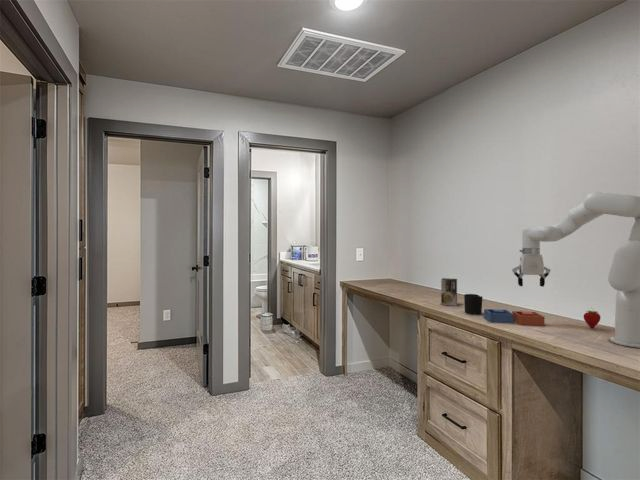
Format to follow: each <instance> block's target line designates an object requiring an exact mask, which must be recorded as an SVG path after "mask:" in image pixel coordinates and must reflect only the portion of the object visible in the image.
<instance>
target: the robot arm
mask: <svg viewBox="0 0 640 480" xmlns="http://www.w3.org/2000/svg"><path fill="white" fill-rule="evenodd" d="M603 215H610V216H617V217H624V218H634V223H633V225H632V227H631V230H630V234H629V237H628V240H627V241H624V242H622V243H621V244H619V245H618V246H617V248H616V249H615V251H614V254H613V257H612V260H611V264H610V268H609V271H608V275H607V277H608V278H607V279H608V280H607V281H608V283H609V285H610V287H611V288H613V290H616V292H615V293H616V294H615V308H614V309H615V312H614V314H615V315H614V316H615V317H614V336H611V337H609V341H610V342H611V343H613V344H616V345H620V346H624V347H630V348H638V349H640V196H638V195H631V194H621V193H620V194H619V193H610V192H602V191H593V192H590V193H588V194H587V195H586V196H585V197H584V198H583V201H582V202H581V203H580V204H578V205H576V206H574V207H573V208H571V209H569V210H568V214H567V216H566V217H565V218H564V219H562V220H561V221H558V222H557V223H556V224H554V225H542V226H525V227H523V228H522V231H521V234H522V239H521V240H522V248H521V249H519V253H521V254H520V257H519V265H518V266H516V267H514V268H512V269H511V271H512V273H513V275H514V276H515V277H516V278H517V285H518V286H519V287H523V286H524V279H523V277H524V276H539V286H540V287H543V288H544V287H545V284H546V279H547V277H548V276H549V275H550V273H551V271H552V270H551V269H550V268H549V267H547V266H545V265H544V264H545V263H544V258H543V255H542V254H541V242H544V243H546V242H547V243H548V242H549V243H551V242H558V241H560V240H562V239H564V238H566V237H568V236H570V235H572V234H573V233H575V232H576V231H578V230H579V229H580V228H581V227H582V226H584V225H586V224H588V223H590V222H591V221H594V220H595V219H597V218H599V217H601V216H603ZM517 271H518V272H519V273H518V272H517Z"/></svg>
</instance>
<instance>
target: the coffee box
mask: <svg viewBox="0 0 640 480" xmlns="http://www.w3.org/2000/svg"><path fill="white" fill-rule="evenodd" d="M440 285H441V286H440V288H441V289H440V294H441V295H440V298H441V299H440V300H441V301H440V305H441V306H450V307H451V306H452V307H457V305H458V278H448V277H447V278H446V277H442V278H441V281H440Z"/></svg>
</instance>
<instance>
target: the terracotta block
mask: <svg viewBox="0 0 640 480" xmlns="http://www.w3.org/2000/svg"><path fill="white" fill-rule="evenodd" d="M532 312H533V311H522V316H535V314H534V313H532Z"/></svg>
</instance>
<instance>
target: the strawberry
mask: <svg viewBox="0 0 640 480" xmlns="http://www.w3.org/2000/svg"><path fill="white" fill-rule="evenodd" d="M590 308H591V309H593V308H592V307H590ZM583 320H584V322H585V323H586V324H587V325H588V326H589V328H590V329H594V328H596V327H597V325H598V324H599V323H600V322H601V315H600V313H599V312H598V311H595V310H587V311H585V313H584V314H583Z"/></svg>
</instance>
